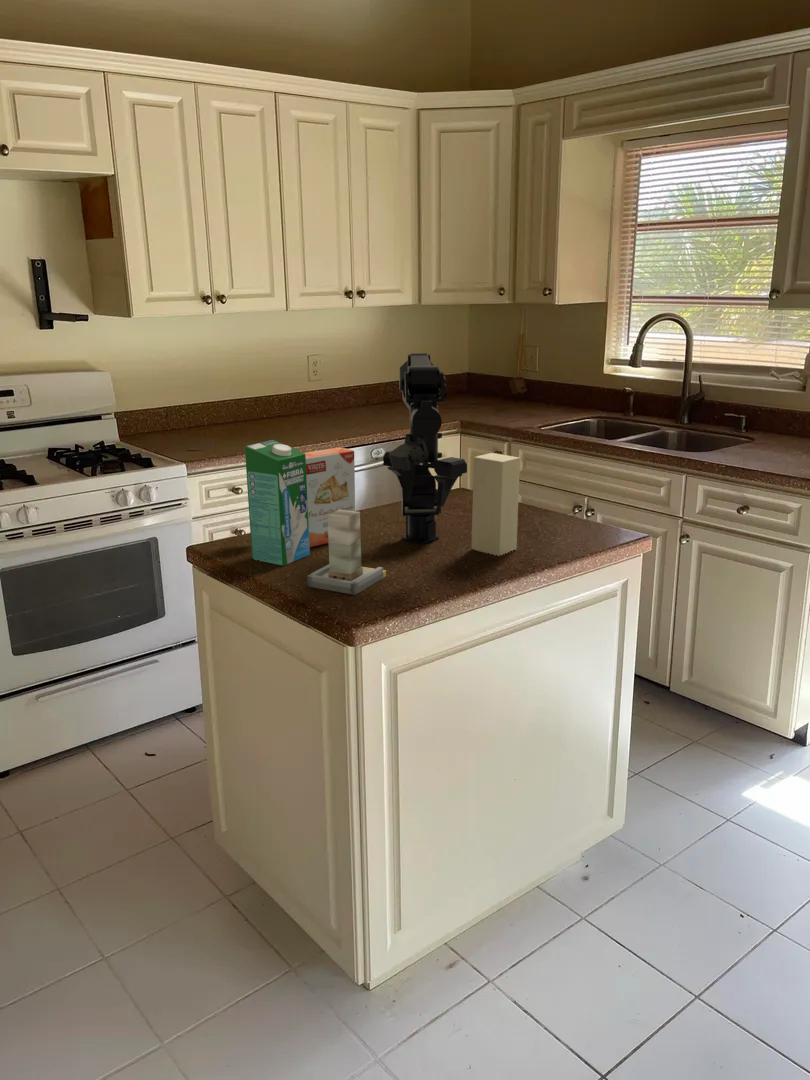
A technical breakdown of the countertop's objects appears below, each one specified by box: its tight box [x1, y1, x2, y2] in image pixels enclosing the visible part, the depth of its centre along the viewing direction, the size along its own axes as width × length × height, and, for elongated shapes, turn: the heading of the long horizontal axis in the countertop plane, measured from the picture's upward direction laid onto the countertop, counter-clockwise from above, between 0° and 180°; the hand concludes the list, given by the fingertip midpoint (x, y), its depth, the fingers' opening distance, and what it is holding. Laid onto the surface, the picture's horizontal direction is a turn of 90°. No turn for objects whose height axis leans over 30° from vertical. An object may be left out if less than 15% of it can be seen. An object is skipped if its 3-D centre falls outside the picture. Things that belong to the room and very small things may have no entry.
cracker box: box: [304, 446, 356, 548], centre depth 196 cm, size 14×6×21 cm, turn 131°
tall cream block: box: [471, 452, 521, 557], centre depth 188 cm, size 8×7×21 cm
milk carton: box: [244, 439, 311, 567], centre depth 184 cm, size 9×9×25 cm
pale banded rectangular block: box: [328, 510, 364, 581], centre depth 169 cm, size 5×5×13 cm
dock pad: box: [306, 563, 387, 596], centre depth 172 cm, size 12×11×2 cm
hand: (424, 502), depth 179 cm, fingers open, 9 cm apart
